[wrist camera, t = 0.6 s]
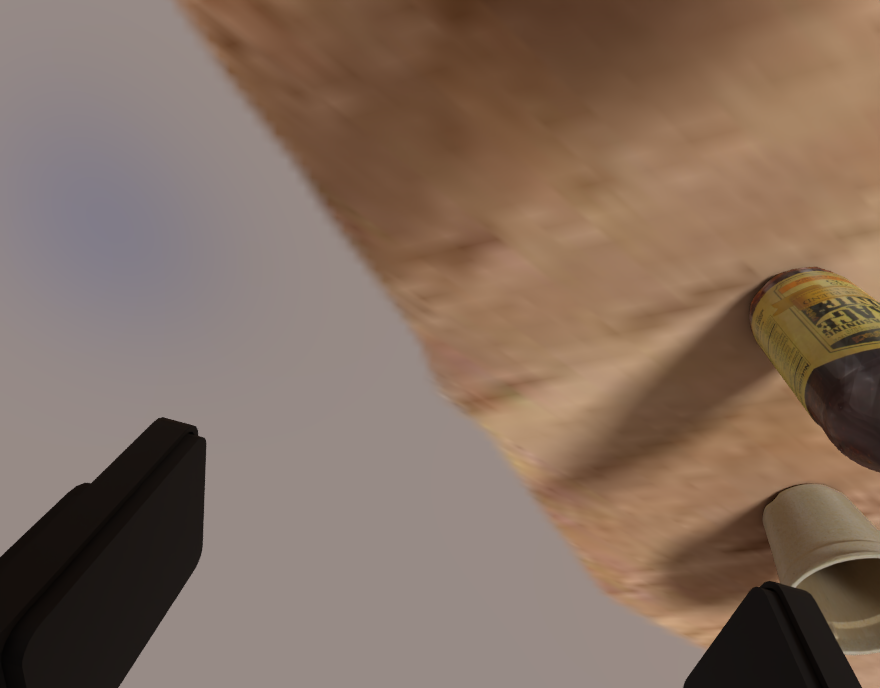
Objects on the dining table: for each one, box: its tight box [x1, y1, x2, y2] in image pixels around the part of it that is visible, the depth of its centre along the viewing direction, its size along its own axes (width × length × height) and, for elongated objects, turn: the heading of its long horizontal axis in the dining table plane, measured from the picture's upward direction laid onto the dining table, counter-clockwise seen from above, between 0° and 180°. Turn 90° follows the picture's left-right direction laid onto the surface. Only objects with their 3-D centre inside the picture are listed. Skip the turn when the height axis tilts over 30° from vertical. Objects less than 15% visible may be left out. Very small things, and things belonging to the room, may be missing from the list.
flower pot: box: [763, 484, 880, 655], centre depth 41 cm, size 9×9×9 cm
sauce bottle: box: [749, 267, 880, 472], centre depth 28 cm, size 6×6×20 cm
